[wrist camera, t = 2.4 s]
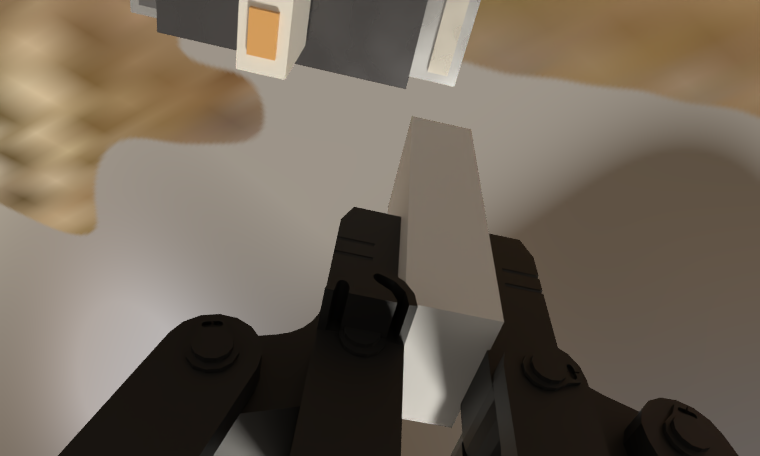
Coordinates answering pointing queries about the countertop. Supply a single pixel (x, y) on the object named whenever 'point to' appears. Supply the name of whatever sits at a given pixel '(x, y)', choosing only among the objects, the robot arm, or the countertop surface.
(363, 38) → the panel
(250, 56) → the handle
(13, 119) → the countertop surface
